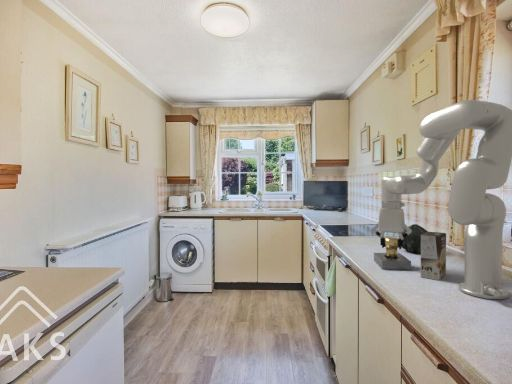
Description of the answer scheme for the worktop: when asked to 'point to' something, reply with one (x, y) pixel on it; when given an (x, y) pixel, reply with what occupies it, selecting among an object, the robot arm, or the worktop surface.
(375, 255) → the block
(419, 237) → the squash
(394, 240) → the end cover
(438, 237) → the coffee box
